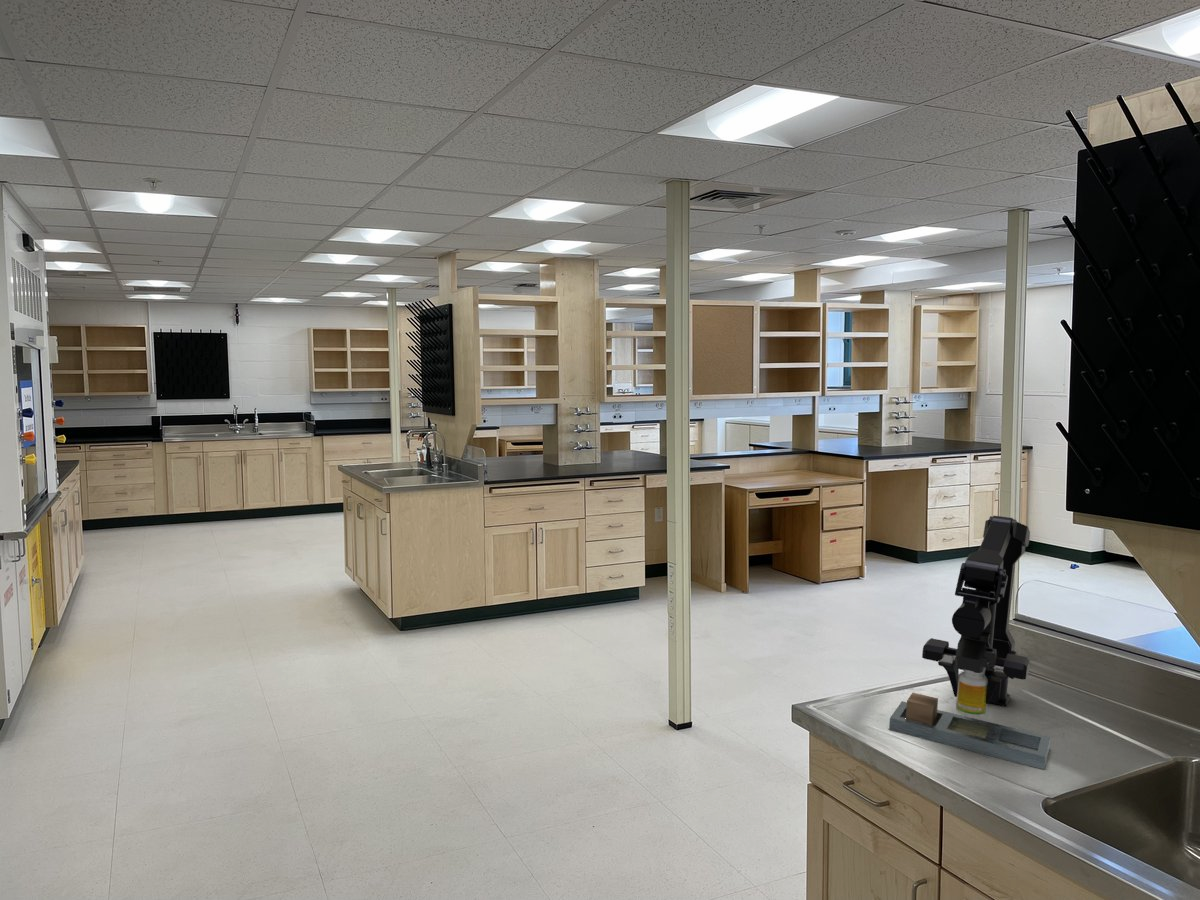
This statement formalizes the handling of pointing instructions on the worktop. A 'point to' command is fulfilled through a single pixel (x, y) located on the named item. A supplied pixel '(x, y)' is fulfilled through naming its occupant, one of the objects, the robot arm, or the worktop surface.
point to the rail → (976, 736)
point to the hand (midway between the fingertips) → (971, 699)
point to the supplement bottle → (972, 693)
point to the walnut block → (922, 709)
